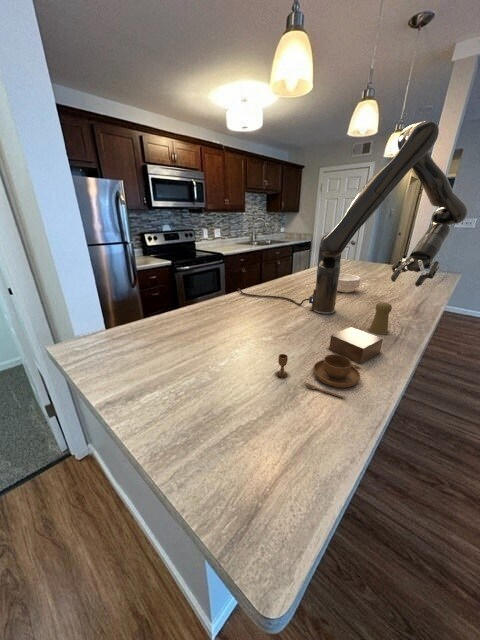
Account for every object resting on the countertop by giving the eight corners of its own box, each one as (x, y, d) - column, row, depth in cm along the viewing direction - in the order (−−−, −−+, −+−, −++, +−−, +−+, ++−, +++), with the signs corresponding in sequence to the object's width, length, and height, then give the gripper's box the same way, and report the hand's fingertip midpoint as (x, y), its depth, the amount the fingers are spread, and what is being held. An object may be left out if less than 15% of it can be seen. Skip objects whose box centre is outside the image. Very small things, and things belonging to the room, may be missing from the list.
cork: (387, 329, 99) (393, 301, 95) (387, 335, 94) (394, 306, 90) (369, 326, 102) (375, 299, 97) (369, 332, 97) (375, 304, 92)
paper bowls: (355, 295, 139) (357, 281, 136) (326, 291, 146) (328, 277, 143) (360, 289, 150) (363, 275, 147) (333, 285, 158) (335, 272, 155)
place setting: (352, 403, 61) (356, 382, 59) (274, 376, 71) (275, 358, 69) (363, 367, 75) (367, 349, 73) (297, 349, 85) (298, 333, 82)
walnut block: (329, 349, 85) (330, 335, 83) (348, 340, 91) (351, 326, 89) (360, 363, 77) (363, 348, 75) (379, 352, 83) (383, 338, 81)
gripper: (405, 240, 102) (383, 273, 100) (447, 243, 91) (423, 280, 89) (408, 253, 106) (387, 284, 105) (449, 257, 95) (426, 293, 94)
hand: (404, 282), depth 97 cm, fingers open, 8 cm apart
